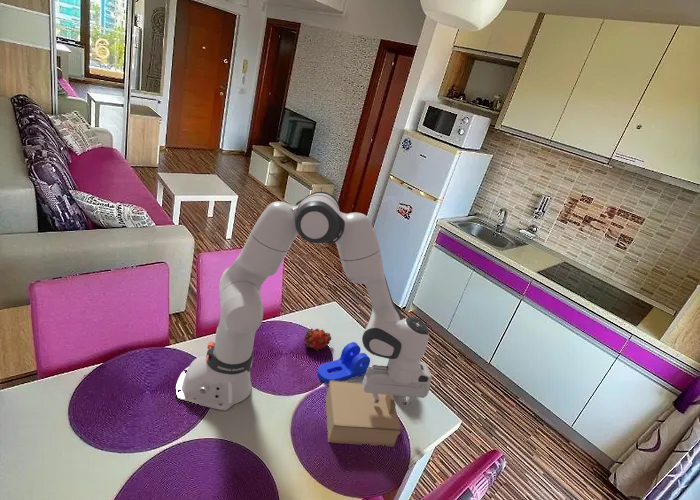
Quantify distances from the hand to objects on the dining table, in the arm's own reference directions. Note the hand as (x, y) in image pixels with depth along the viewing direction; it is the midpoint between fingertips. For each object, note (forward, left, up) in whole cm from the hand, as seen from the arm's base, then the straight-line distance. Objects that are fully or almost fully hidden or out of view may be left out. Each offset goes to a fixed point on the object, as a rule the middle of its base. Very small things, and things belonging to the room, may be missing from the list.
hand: (389, 402), depth 124 cm
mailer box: (-8, 0, -9) cm, 12 cm away
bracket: (-12, +22, -10) cm, 27 cm away
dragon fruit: (-20, +35, -9) cm, 41 cm away
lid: (-8, 0, -3) cm, 9 cm away
